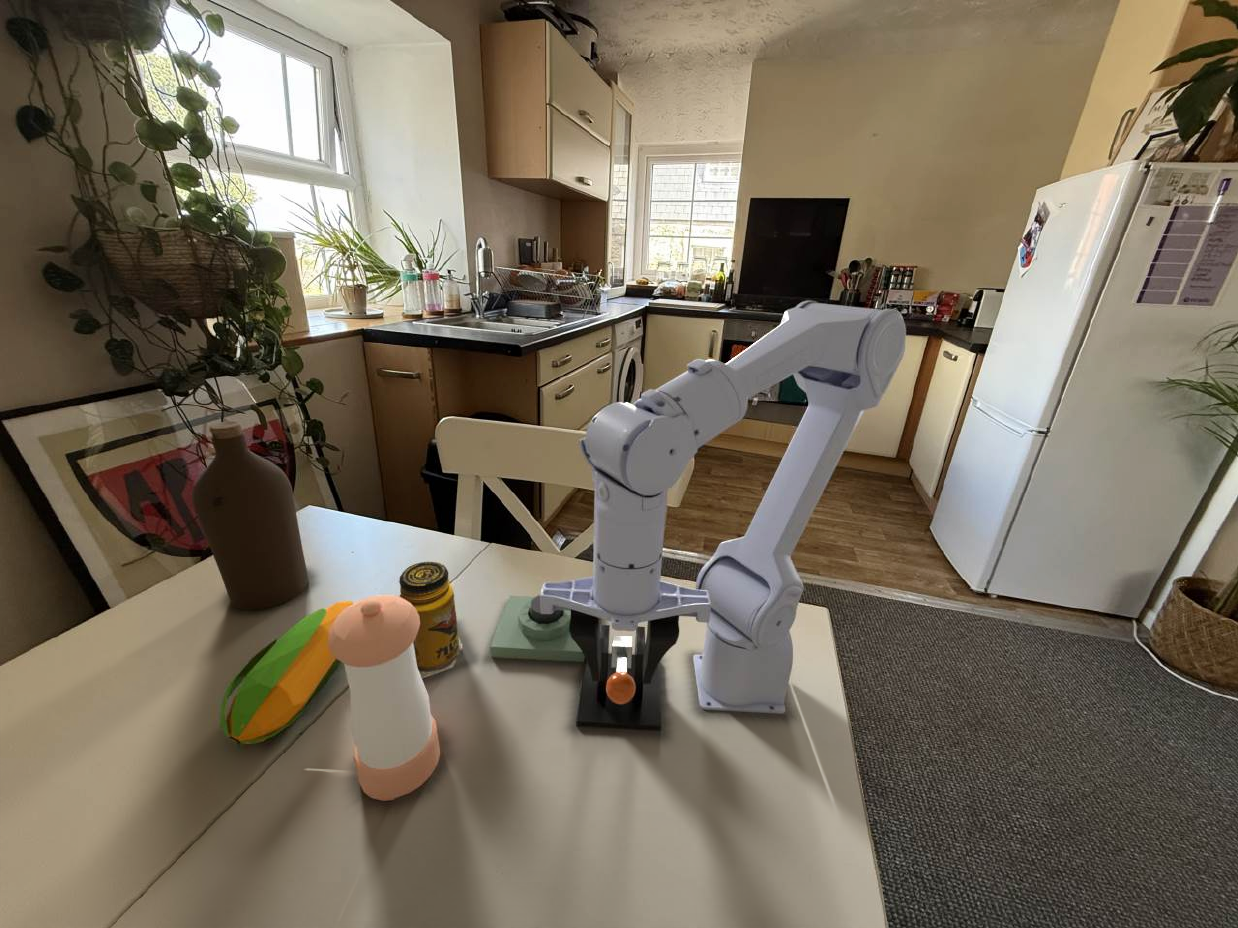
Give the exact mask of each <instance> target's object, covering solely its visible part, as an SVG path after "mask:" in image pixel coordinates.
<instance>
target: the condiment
mask: <svg viewBox="0 0 1238 928" xmlns="http://www.w3.org/2000/svg"><path fill="white" fill-rule="evenodd" d="M398 582H399V585H400V589H399V593H400V594H399V597H401V598H403V599H405V600H407V601H408V602H410V603H411V604H412V605H413V606H414V608H415V609H416V610H417V612H418V614H419V618H420V626H419V630H418V633H417V635H416V638H415V640H414V642H413V645H414V651H415V657H416V663H417V668H418V670H419V673H420V675H421V678H422V679H424V678H428V677H431V676H434V675H438V674H439V673H442V672H445V671H447V670H449V669H452V668H454V667H455V664H456V662H457V660H458V658H459V655H460V654H461V651H462V649H463V647H464V645H463V643H462V641H461V639H460V637H459V626H458V620H457V611H456V604H455V603H456V602H455V593H454V588H453V585H452V584H451V583H450V578H449V570H448V569H447V567H446V566H445V564H442V563H440V562H436V561H423V562H421V561H420V562H417V563H414V564H412V565H409V566H408V567H407V568H406V569H404V571H402V573H401V575H400V576H399V581H398Z"/></svg>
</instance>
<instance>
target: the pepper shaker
mask: <svg viewBox="0 0 1238 928" xmlns="http://www.w3.org/2000/svg"><path fill="white" fill-rule="evenodd" d="M419 626H420V618H419V614H418V612H417V610H416V609H415V608H414V606H413V605H412V604H411V603H410V602H408V601H407V600H405V599H403V598H401V597H400V595H399V596H398V595H392V594H378V595H374V596H368V597H366V598H363V599H361V600H358V601H355V602H353V604H352V605H350V606H349V607H347V608H345V609H344V610H343V611H342V612H341V613H340V614H339V615H338V616H337V618H336V620H335V621H334V623H333V625H332V626H331V628H330V630H329V639H328V647H329V649H330V651H331V653H332V654H333V655H334V657H335V658H336V659H338V660H339V661H340V663H343V665H344V670H345V674H346V678H347V683H348V687H349V693H350V731H351V735H352V739H353V742H354V744H355V745H354V747H353V762H354V766H355V770H356V774H357V778H358V783H359V785H360V787H361V789H362V791H363V793H364V794H365V795H367V796H368V797H369V798H371V799H374V800H378V801H380V802H381V801H382V802H386V801H394V800H395V799H397V798H399V797H402V796H405V795H408V794H410V793H412V792H413V791H415V790H416V789H418V788H420V787H421V786H422V785H423V784H424V783H425V782H426V781H427V780H428V779H429V778H430V777H431V776H432V775H433V773H434V771H435V769H436V767H437V766H438V764H439V760H440V755H441V749H440V740H439V735H438V734H439V733H438V726H437V721H436V720H435V718H434V717H433V715H432V714H431V703H430V695H429V694H428V691H427V689H426V685H425V683H424V680H423V678H421V675H420V673H419V670H418V668H417V663H416V657H415V651H414V645H413V642H414V640H415V638H416V635H417V633H418V630H419ZM336 659H335V660H336Z"/></svg>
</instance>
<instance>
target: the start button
mask: <svg viewBox="0 0 1238 928" xmlns="http://www.w3.org/2000/svg"><path fill="white" fill-rule="evenodd" d="M534 597H535V598H533V599H532V601H531V603H530V616H531V618H532V620H533V621H534V622H536V623H539V624H550V623H553V622H556V621H557V620H558V619H559V618H560V617H561V614H562V610H554V612H553V613H552V614H541V613H540V594H539V595H536V596H534Z"/></svg>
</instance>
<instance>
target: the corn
mask: <svg viewBox="0 0 1238 928" xmlns="http://www.w3.org/2000/svg"><path fill="white" fill-rule="evenodd" d="M352 604H354V602H353V600H343V601H337V602H335V603H333V604H332V605H330V606H328V607H327V608H319V609H317V610H315V611H314V612H312V613H310V614H308V615H307V616H305V617H304V618H302V619H301V620H299V621H298V622H296V623H295V624H294V625H293V626H292V627H291V628H289V629H288V630H287V631H286V632H285V633H284V634H283V635H282V636H280V638H279V639H278V638H276V639H275V640H273V641H272V642H270V643H268V644H267V645H266V646H265V647H264V648H262V649H261V650H260V651H258V652H257V653H256V654H255V655H254V656H252V657H251V658H250V660H249V661H248V662H246V664H245V665H244V666H243V667H242V668H241V669H240V670H239V671H238V672H237V673H236V675H234V677H233V678H232V679H231V681H230V682H229V684H228V685H227V687H226V689H225V692H224V695H223V697H222V699H221V708H220V716H219V725H220V727H221V730H222V731H223V732H224V735H225V736H226V738H229V739H231V740H232V741H234V742H235V743H236V744H237V745H238V746H239V745H241V744H244V745H255V744H258V743H260V742H261V743H262V742H264V741H265V740H269V739H271V738H272V737H275V736H276V735H277V734H279V733H280V732H282V731H283V730H284V729H287V728H288V727H289V726H290V725H292V724H293V723H294V722H295V721H296V720H297V719H298V718H299V716H301V714H302V713H303V712H305V710H306V709H307V708H308V706H309V705H310V704H311V703H312V702H313V701H314V699H315V698H316V697H317V696H318V694H320V692H321V691H322V689H323V688H324V687H325V686H326V685H327V683H328V682H329V680H330V679H331V677H332V675H333V674H334V672H335V671H336V669H337V668H338V666H339V664H340V663H341V661H339V660H338V659H336V658H335V657H334V655H333V654H332V653H331V651H330V649H329V647H328V639H329V630H330V628H331V626H332V625H333V623H334V621H335V620H336V618H337V616H338V615H339V614H340V613H341V612H342V611H343V610H344V609H345V608H347V607H349V606H350V605H352ZM239 686H240V687H239ZM238 687H239V689H238V690H237V688H238ZM236 690H237V692H236V695H235V696H234V698H233V699H232V703H231V705H230V708H229V711H228V714H227V716H226V709H227V703H228V700H229V698H230V697H231V696H232V695H233V693H235V691H236Z"/></svg>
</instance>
